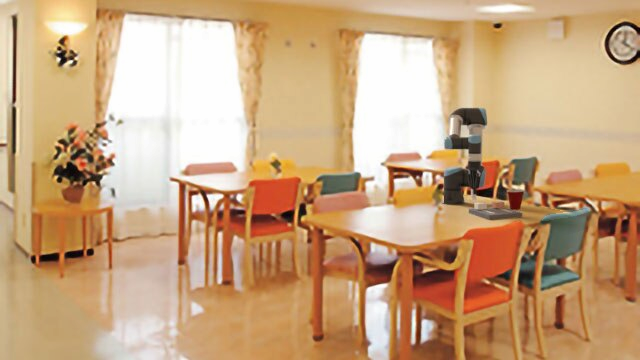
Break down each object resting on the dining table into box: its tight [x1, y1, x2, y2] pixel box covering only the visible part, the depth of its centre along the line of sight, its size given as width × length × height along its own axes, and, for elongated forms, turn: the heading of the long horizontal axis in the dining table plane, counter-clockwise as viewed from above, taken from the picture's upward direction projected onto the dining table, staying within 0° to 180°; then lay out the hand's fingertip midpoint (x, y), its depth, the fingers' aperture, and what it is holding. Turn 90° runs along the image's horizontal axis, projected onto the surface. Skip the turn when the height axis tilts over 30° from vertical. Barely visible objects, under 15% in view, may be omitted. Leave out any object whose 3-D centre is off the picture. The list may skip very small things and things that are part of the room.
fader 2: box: [491, 200, 505, 208], centre depth 388 cm, size 4×6×4 cm, turn 108°
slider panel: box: [468, 206, 523, 220], centre depth 381 cm, size 22×22×3 cm
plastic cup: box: [506, 189, 525, 211], centre depth 398 cm, size 11×11×12 cm
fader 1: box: [473, 201, 488, 210], centre depth 384 cm, size 4×6×4 cm, turn 108°
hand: (473, 199), depth 391 cm, fingers closed
